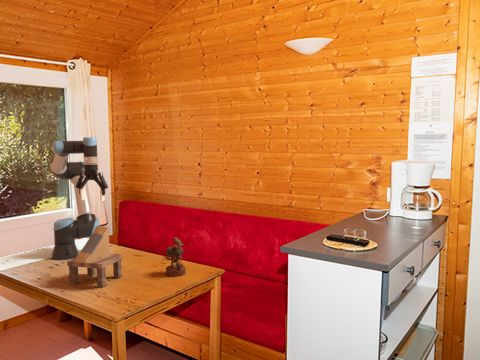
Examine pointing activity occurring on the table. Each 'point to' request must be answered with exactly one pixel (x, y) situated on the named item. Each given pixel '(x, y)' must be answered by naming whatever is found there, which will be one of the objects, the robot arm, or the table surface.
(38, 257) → the table surface
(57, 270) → the table surface
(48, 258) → the table surface
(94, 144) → the robot arm
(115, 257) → the stool
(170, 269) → the small figurine
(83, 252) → the sandwich container
